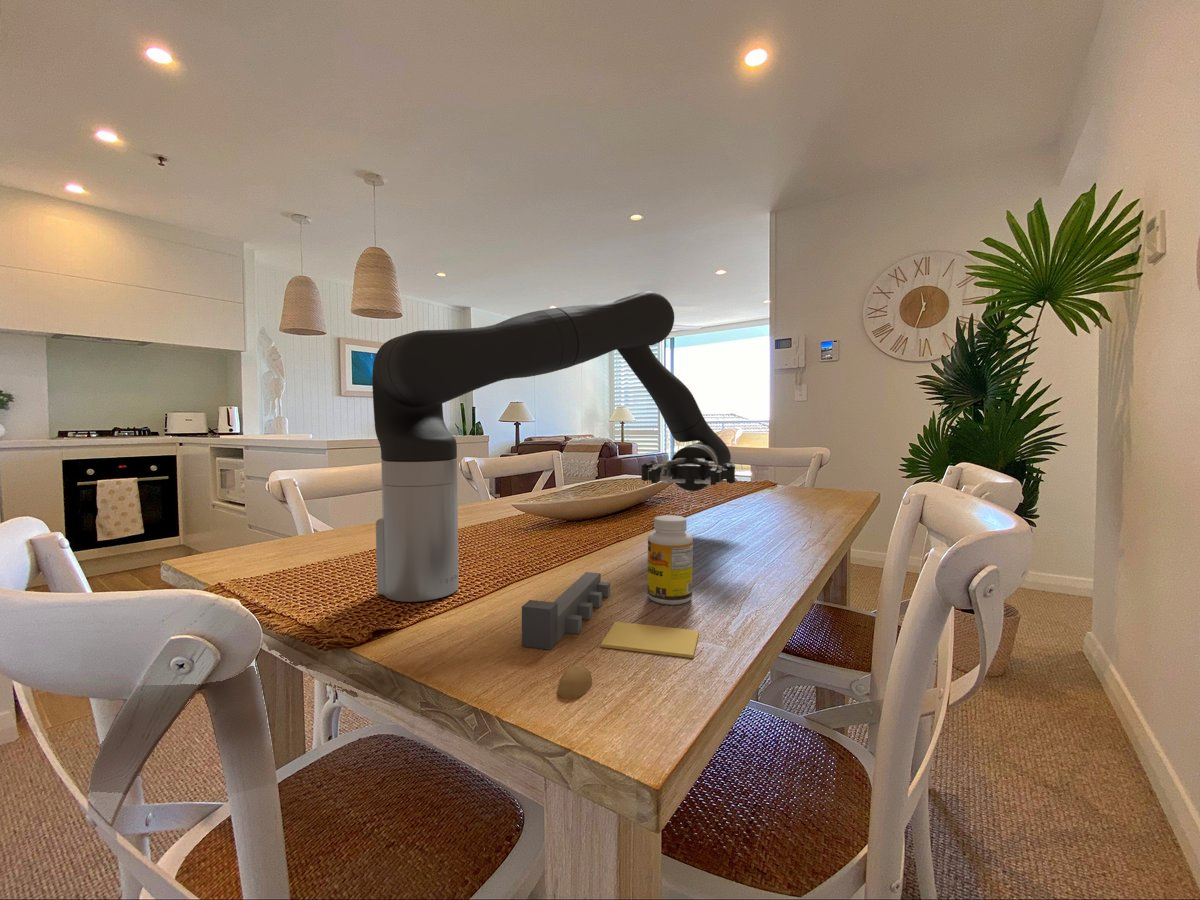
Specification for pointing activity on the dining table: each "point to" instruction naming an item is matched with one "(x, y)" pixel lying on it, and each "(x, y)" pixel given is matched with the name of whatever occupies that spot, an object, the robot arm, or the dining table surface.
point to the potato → (575, 682)
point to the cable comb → (562, 612)
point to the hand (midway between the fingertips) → (682, 477)
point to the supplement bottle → (670, 561)
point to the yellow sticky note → (652, 639)
